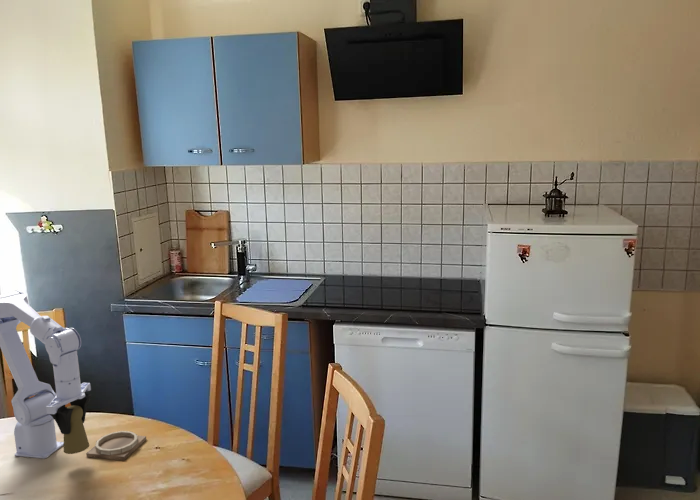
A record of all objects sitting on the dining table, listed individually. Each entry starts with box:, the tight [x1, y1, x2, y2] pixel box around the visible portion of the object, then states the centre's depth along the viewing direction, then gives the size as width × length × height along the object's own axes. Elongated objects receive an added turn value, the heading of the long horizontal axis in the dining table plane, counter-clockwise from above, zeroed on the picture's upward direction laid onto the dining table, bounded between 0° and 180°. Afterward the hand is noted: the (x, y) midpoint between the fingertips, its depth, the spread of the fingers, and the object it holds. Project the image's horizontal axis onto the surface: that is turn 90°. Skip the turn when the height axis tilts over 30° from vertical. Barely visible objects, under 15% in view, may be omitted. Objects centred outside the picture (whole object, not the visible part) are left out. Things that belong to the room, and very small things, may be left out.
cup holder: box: [85, 430, 147, 461], centre depth 161 cm, size 11×11×2 cm
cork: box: [63, 405, 90, 455], centre depth 151 cm, size 6×6×11 cm
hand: (73, 428), depth 151 cm, fingers closed on cork, 5 cm apart
